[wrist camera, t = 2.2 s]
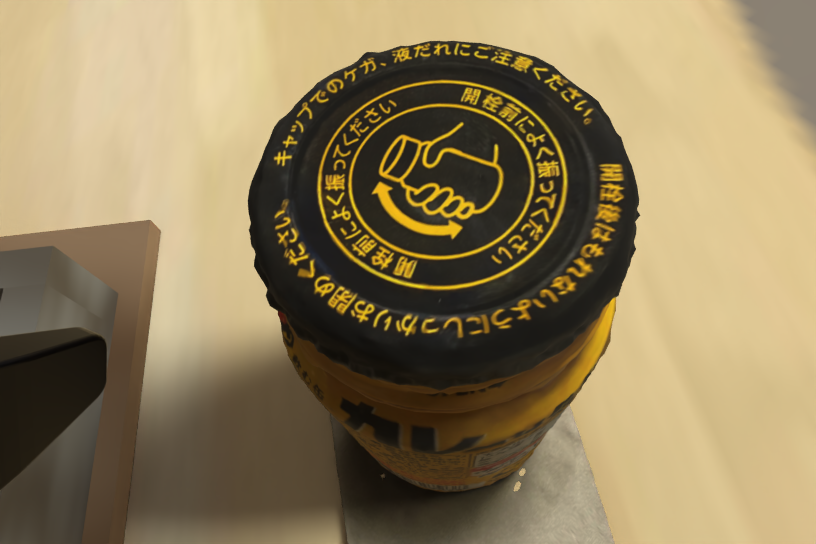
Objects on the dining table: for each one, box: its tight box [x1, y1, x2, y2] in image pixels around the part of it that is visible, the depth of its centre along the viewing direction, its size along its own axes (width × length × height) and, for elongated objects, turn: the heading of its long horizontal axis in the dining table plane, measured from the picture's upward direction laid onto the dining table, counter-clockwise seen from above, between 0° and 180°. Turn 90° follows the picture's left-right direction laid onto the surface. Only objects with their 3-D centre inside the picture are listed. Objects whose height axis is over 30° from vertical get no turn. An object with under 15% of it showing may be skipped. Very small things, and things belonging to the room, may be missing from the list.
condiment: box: [248, 41, 640, 544], centre depth 12 cm, size 7×8×12 cm
